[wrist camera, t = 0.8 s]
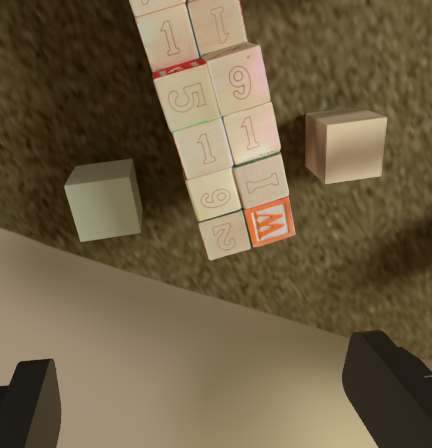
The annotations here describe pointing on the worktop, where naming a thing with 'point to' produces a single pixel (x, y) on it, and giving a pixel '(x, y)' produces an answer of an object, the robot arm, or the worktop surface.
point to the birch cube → (344, 144)
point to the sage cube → (105, 199)
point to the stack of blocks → (218, 120)
